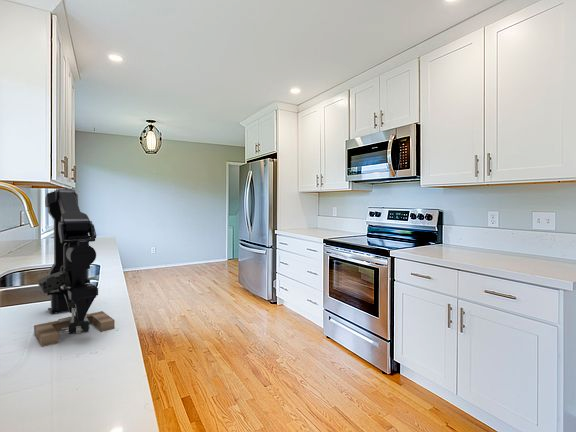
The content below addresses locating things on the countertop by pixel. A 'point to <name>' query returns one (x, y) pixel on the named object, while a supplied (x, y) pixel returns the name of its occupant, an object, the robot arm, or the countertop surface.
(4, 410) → the countertop surface
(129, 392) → the countertop surface
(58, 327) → the notched board
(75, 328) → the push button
